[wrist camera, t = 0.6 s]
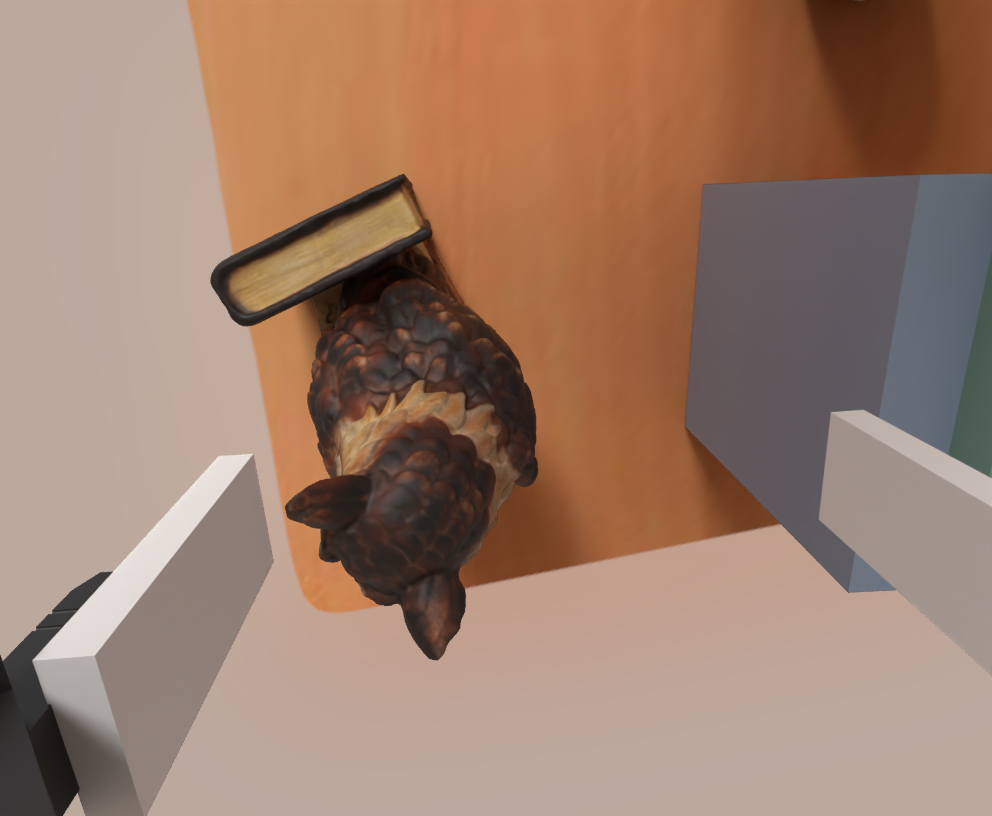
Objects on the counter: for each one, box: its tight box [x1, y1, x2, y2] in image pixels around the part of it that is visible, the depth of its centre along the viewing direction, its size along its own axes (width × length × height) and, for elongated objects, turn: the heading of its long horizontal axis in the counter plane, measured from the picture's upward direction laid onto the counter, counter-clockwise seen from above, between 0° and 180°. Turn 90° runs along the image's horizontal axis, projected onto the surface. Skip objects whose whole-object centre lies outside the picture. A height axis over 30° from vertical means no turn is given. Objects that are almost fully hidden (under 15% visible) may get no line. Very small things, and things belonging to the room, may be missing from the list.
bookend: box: [211, 174, 538, 660], centre depth 30 cm, size 15×11×25 cm
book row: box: [685, 173, 992, 593], centre depth 33 cm, size 16×9×22 cm, turn 1°
